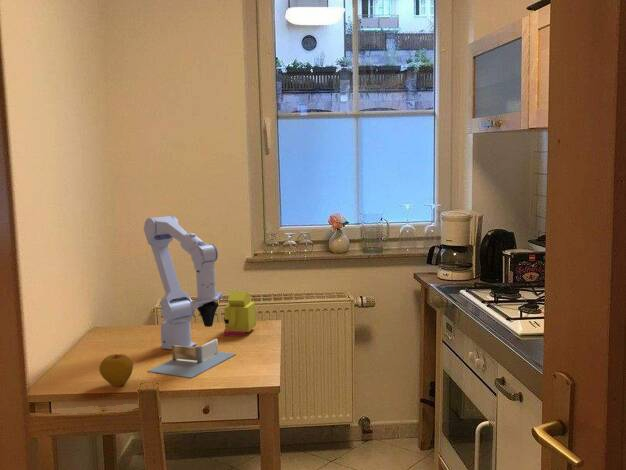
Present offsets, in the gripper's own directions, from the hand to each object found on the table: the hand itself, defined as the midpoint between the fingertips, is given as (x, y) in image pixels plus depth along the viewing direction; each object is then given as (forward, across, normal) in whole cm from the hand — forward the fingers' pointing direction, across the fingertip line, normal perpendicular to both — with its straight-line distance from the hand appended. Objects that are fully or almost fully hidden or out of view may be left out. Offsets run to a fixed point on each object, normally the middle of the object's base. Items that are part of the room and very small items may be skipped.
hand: (208, 326), depth 202 cm
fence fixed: (+10, -2, -1) cm, 10 cm away
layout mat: (+10, -7, +2) cm, 12 cm away
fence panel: (+9, -7, +5) cm, 13 cm away
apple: (+10, -30, +10) cm, 34 cm away
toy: (+10, +28, +6) cm, 30 cm away
